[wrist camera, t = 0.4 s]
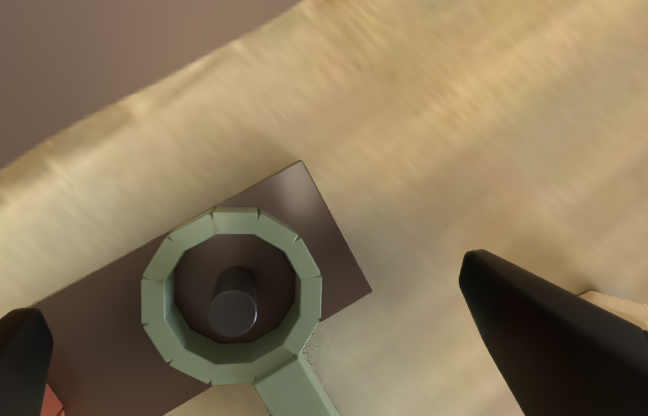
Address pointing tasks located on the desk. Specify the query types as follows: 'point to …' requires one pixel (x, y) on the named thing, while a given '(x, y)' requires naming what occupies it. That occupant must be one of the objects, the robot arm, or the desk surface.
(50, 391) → the rust loop
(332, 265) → the rack
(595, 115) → the desk surface
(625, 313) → the milkshake
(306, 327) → the sage loop
